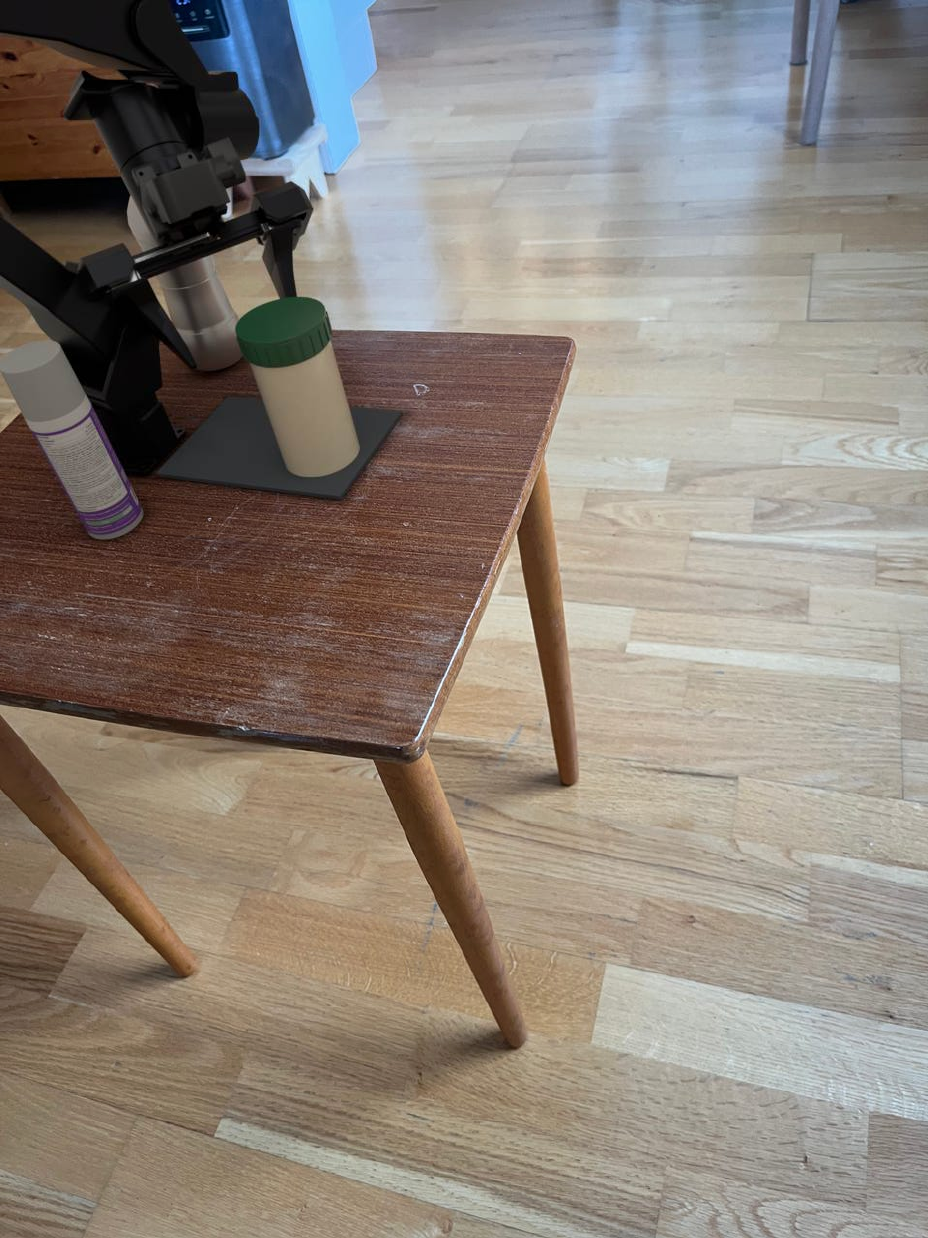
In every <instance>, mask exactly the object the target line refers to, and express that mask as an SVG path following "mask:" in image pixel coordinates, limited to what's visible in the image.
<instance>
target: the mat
mask: <svg viewBox="0 0 928 1238" xmlns="http://www.w3.org/2000/svg"><path fill="white" fill-rule="evenodd" d="M349 408H350V411H351V415H352V419H353V422H354V426H355V430H356V433H357V437H358V440H359V444H360V450H359V453H358V455H357V457H356V458H355V459H354V461H353V462H351V463H350V464H349V465H348V466H346V467H345V468H343V469H341V470H339V471H337V472H335V473H332V474H329V475H326V476H321V477H301V476H297V475H295V474H292V473H291V472H290V471H289V470H287V468H286V466H285V464H284V461H283V458H282V455H281V452H280V449H279V447H278V444H277V441H276V438H275V435H274V432H273V429H272V427H271V424H270V421H269V418H268V415H267V412H266V409H265V406H264V404H263V401H262V398H256V397H246V396H245V397H243V396H233V395H228V396H227V397H226V398H225V399H224V400H223V401H222V402H221V403H220V405H218V406H217V408H216V409H215V410H214V411H213V412H212V413H211V414H210V415H209V416H208V417H207V418H206V419H205V420H204V421H203V422H202V423H201V425H200V426H199V427H198V428H197V429H196V430H195V431H194V432H193V433H192V434H191V435H190V436H189V437H188V438H187V440H186V441H184V443H183V444H181V446H179V448H178V449H177V450H176V451H175V452H174V453H173V454H172V455H171V457H169V458H168V459H167V460H166V462H165V463H163V465H162V466H161V467H160V468H158V470H157V471H156V472H155V474H156V477H158V478H165V479H172V480H180V481H187V482H196V483H203V484H210V485H211V484H213V485H218V486H219V485H220V486H226V487H235V488H236V487H237V488H241V489H242V488H243V489H244V488H245V489H251V490H258V491H267V492H275V493H282V494H290V495H299V496H307V497H313V498H322V499H330V500H338V501H342V500H343V499H344V497H345V496H346V495H347V493H348V492H349V490H350V488H351V487H352V486H353V485H354V483H355V482H356V480H358V478H359V477H360V475H361V474H362V472H363V471H364V470H365V468H366V467H367V466H368V464H369V463H370V461H371V460H372V458H373V457H374V455H375V454H376V453H377V451H378V450H379V449H380V447H381V446H382V444H383V443H384V442H385V440H386V439H387V437H388V436H389V435H390V433H391V432H392V430H393V429H395V426H396V425H397V423H398V422H399V421H400V419H401V418H402V417H403V414H404V413H403V411H402V410H395V409H383V408H373V407H372V408H371V407H360V406H350V405H349Z"/></svg>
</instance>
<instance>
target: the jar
mask: <svg viewBox="0 0 928 1238" xmlns="http://www.w3.org/2000/svg"><path fill="white" fill-rule="evenodd" d="M249 367H250V369H251V371H252V375H253V377H254V380H255V383H256V386H257V389H258V392H259V395H260V399H262V401H263V404H264V406H265V409H266V412H267V415H268V418H269V421H270V424H271V427H272V429H273V432H274V435H275V438H276V441H277V444H278V447H279V449H280V452H281V455H282V458H283V461H284V464H285V466H286V468H287V470H289V471H290V472H291V473H292V474H295V475H297V476H301V477H321V476H326V475H329V474H332V473H335V472H337V471H339V470H341V469H343V468H345V467H346V466H348V465H349V464H350V463H351V462H353V461H354V459H355V458H356V457H357V455H358V453H359V450H360V444H359V440H358V437H357V433H356V430H355V426H354V422H353V419H352V415H351V411H350V408H349V406H350V404H349V401H348V397H347V393H346V390H345V386H344V383H343V380H342V376H341V372H340V368H339V365H338V360H337V357H336V353H335V351H334V347H333V344H332V340H330V342H329V343H328V344H327V346H326V347H325V348H324V349H322V350H321V351H320V352H318V353H317V354H315V355H314V356H312V357H310V358H308V359H306V360H303V361H300V362H297V363H294V364H290V365H286V366H279V367H262V366H257V365H254V364H251V363H249Z"/></svg>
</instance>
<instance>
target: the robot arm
mask: <svg viewBox="0 0 928 1238" xmlns="http://www.w3.org/2000/svg"><path fill="white" fill-rule="evenodd" d="M0 37H2V38H9V39H16V40H23V41H30V42H34V43H37V44H40V45H43V46H46V47H48V48H50V49H52V50H53V51H56V52H58V53H60V54H61V55H64V56H65V57H68V58H70V59H74V60H76V61H79V62H83V63H84V64H87V65H90V66H93V67H96V68H99V69H104V70H105V69H106V70H113V71H114V72H115V73H117V75H119V76H120V77H121V78H122V79H121V78H120V79H119V78H118V79H116V78H115V79H114V78H113V79H112V78H111V79H110V78H102V77H98V76H95V75H93V74H92V73H89V72H88V71H87V70H81V71H80V72H79V74H78V75H77V77H76V78H75V81H74V82H73V83H72V86H71V91H70V92H71V93H70V98H69V100H68V104H66V105H67V106H66V107H65V108H64V110H63V113H62V115H63V118H64V119H65V120H67V121H71V122H72V121H75V122H76V121H92V122H93V123H94V125H95V127H96V129H97V131H98V133H99V135H100V137H101V139H102V142H103V143H104V145H105V147H106V149H107V152H108V153H109V155H110V157H111V159H112V161H113V163H114V165H115V167H116V169H117V170H118V173H119V174H120V177H121V179H122V181H123V183H124V185H125V186H126V188H127V191H128V192H129V195H130V196H131V197H132V199H133V201H134V202H135V204H136V206H137V208H138V210H139V212H140V214H141V216H142V218H143V220H144V222H145V224H146V226H147V228H148V230H149V232H150V234H151V236H152V238H153V240H154V242H155V244H156V246H157V247H155V248H153V249H150V250H147V251H145V252H143V251H142V252H140V253H137V254H133V255H132V254H131V252H130V250H129V249H128V247H127V246H126V245H125V244H124V242H121V243H118V244H115V245H112V246H109V247H107V248H105V249H101V250H99V251H96V252H94V253H91V254H87V255H85V256H82V257H80V259H79V262H77V261H73V260H66V262H65V264H63V262H61V261H59V260H58V259H57V258H56V257H55V256H53V255H52V254H51V253H50V252H48V251H47V250H45V249H44V248H43V247H42V246H40V245H39V244H38V243H36V241H34V240H33V239H31V238H30V237H29V236H28V235H26V234H25V233H24V232H22V231H21V230H20V229H19V228H17V227H16V226H15V225H13V224H12V223H11V222H10V221H8V220H7V219H6V218H4V217H3V215H0V289H2V290H3V291H5V292H6V293H7V294H9V295H10V296H12V297H13V298H14V299H16V300H17V301H19V302H20V303H21V304H23V305H24V307H26V309H27V311H28V312H29V313H30V315H31V316H32V318H33V319H34V321H35V323H36V324H37V326H38V327H39V329H40V330H41V331H42V332H43V333H44V334H45V335H46V336H48V338H49V340H50V341H55V342H57V343H58V344H59V345H60V346H61V348H62V350H63V352H64V354H65V356H66V358H67V360H68V362H69V363H70V365H71V367H72V369H73V371H74V373H75V375H76V377H77V379H78V381H79V382H80V384H81V386H82V388H83V390H84V392H85V394H86V396H87V398H88V400H89V401H90V403H91V405H92V407H93V409H94V411H95V413H96V415H97V417H98V419H99V421H100V423H101V425H102V427H103V429H104V431H105V434H106V436H107V438H108V440H109V442H110V444H111V446H112V448H113V450H114V452H115V454H116V456H117V458H118V460H119V462H120V464H121V466H122V468H123V470H124V472H125V474H130V475H138V476H148V475H149V474H151V473H152V472H153V471H154V470H155V469H156V468H157V467H158V466H159V465H160V464H161V463H162V462H163V461H164V459H166V457H168V455H169V454H170V453H172V451H173V450H174V449H175V448H177V446H178V445H179V444H180V443H181V442H182V440H183V439H185V438H186V436H187V434H188V433H187V429H186V428H183V427H175V426H173V425H172V423H171V420H170V418H169V416H168V413H167V411H166V408H165V406H164V403H163V402H162V401H161V400H159V398H158V397H157V394H156V393H157V392H158V391H160V390H161V389H162V388H163V375H162V363H161V354H160V353H161V352H160V343H162V344H163V345H164V346H165V347H166V348H167V349H168V350H170V351H171V352H172V353H173V354H174V355H175V357H177V358H178V359H179V360H180V361H181V362H182V363H183V364H184V365H185V366H186V367H187V368H188V369H190V371H192V372H194V371H196V370H197V365H196V362H195V360H194V358H193V356H192V354H191V352H190V350H189V348H188V346H187V345H186V343H185V342H184V340H183V338H182V337H181V335H180V334H179V332H178V331H177V329H176V328H175V326H174V324H173V323H172V321H171V318H170V316H169V315H168V314H167V311H166V310H165V309H164V307H163V305H162V304H161V303H160V301H159V299H158V297H157V295H156V293H155V291H154V289H153V287H152V285H151V283H150V281H149V279H152V278H154V277H156V276H157V275H160V274H162V273H165V272H168V271H170V270H173V269H175V268H178V267H181V266H183V265H186V264H189V263H191V262H194V261H197V260H199V259H202V258H204V257H207V256H210V255H212V256H213V255H215V254H217V253H220V252H223V251H225V250H228V249H230V248H234V247H237V246H238V245H242V244H244V243H247V242H249V241H251V240H254V239H255V240H256V242H257V244H258V245H261V246H263V251H262V255H261V260H262V262H263V264H264V266H265V269H266V271H267V273H268V275H269V277H270V280H271V282H272V284H273V286H274V290H275V291H276V293H277V296H278V299H282V298H288V297H298V293H297V286H296V280H295V273H294V255H293V254H294V253H293V252H294V251H295V250H296V249H297V245H298V243H299V240H300V238H301V237H302V236H304V235H305V234H306V231H307V229H308V226H309V224H310V220H311V217H312V215H313V212H314V206H313V204H312V203H311V200H310V199H309V197H308V194H307V192H306V190H305V189H304V188H303V187H301V186H300V185H299V184H297V183H295V181H292V180H290V181H287V182H284V183H282V184H279V185H275V186H274V187H270V188H268V189H265V190H262V191H259V192H258V193H255V194H253V195H252V199H251V203H250V208H249V212H247V213H244V214H241V215H239V216H236V217H234V218H231V219H229V220H226V221H225V220H224V217H223V216H225V215H227V214H228V209H229V207H228V205H227V204H229V203H231V202H232V200H231V199H230V196H229V194H228V191H227V189H230V188H232V187H233V188H234V187H236V186H238V185H241V184H244V183H246V182H247V173H246V171H245V169H244V166H243V164H242V161H245V160H248V159H249V158H251V157H252V155H253V154H255V152H256V150H257V148H258V146H259V141H260V136H261V135H260V132H261V125H260V119H259V117H258V116H257V113H256V110H255V107H254V105H253V103H252V101H251V99H250V97H249V96H248V95H247V94H246V93H245V91H243V90H242V89H241V88H240V83H239V74H238V72H237V71H232V70H231V71H230V70H209V71H208V70H207V68H206V67H205V65H204V63H203V61H202V60H201V58H200V57H199V54H197V52H196V50H195V49H194V47H193V45H192V43H191V42H190V40H189V38H188V37H187V35H186V34H185V32H184V30H183V29H182V27H181V26H180V24H179V23H178V21H177V18H176V15H175V12H174V10H173V8H172V5H171V3H170V1H169V0H0ZM155 85H156V86H157V87H156V86H155Z"/></svg>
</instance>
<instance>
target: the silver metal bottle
mask: <svg viewBox="0 0 928 1238" xmlns="http://www.w3.org/2000/svg"><path fill="white" fill-rule="evenodd" d="M126 214H127V224H128V226H129V228H130V230H131V232H132V235H133V236H134V238H135V240H136V242H137V244H138V246H139V247H140V249H141V251H142V252H145V251H147V250H150V249H153V248H155V247H157V246H156V244H155V242H154V240H153V238H152V236H151V234H150V232H149V230H148V228H147V226H146V224H145V222H144V220H143V218H142V216H141V214H140V212H139V210H138V208H137V206H136V204H135V202H134V201H133V199H132V197H131V195H130V196H129V200H128V204H127V209H126ZM215 264H216V263H215V260H214V256H213V254H212V255H210V256H207V257H204V258H202V259H199V260H197V261H194V262H191V263H189V264H186V265H183V266H181V267H178V268H175V269H173V270H170V271H168V272H165V273H162V274H160V275H157V276H155V279H156V280H157V281H158V285H159V287H160V290H161V292H162V294H163V297H164V301H165V304H166V308H167V311H168V314H169V318H170V320H171V321H172V323H173V324H174V326H175V328H176V329H177V331H178V332H179V334H180V335H181V337H182V338H183V340H184V342H185V343H186V345H187V346H188V348H189V350H190V352H191V354H192V356H193V358H194V360H195V362H196V365H197V369H196V370H197V371H202V372H213V371H214V372H215V371H219V370H222V369H226V368H229V367H231V366H232V365H234V364H237V362H239V361H240V360H241V359H242V358H243V357H244V356H243V355H242V353H241V350H240V347H239V344H238V342H237V339H236V337H237V335H236V333H235V327H236V324H237V322H238V321H239V319H240V318H239V316H238V314H237V312H236V311H235V309H234V308H233V307H232V305H231V302H230V300H229V297H228V295H227V293H226V290H225V287H224V285H223V284H222V282H221V278H220V277H219V273H218V271H217V267H216V266H215Z"/></svg>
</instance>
